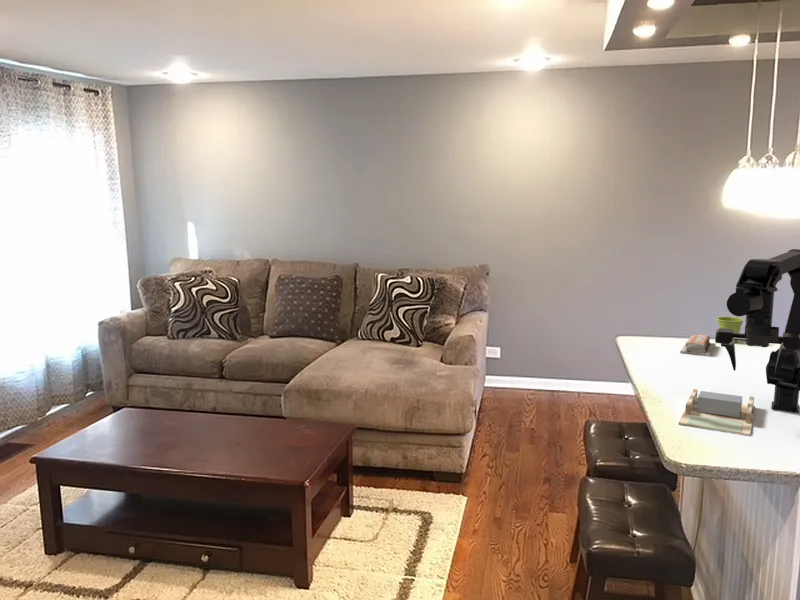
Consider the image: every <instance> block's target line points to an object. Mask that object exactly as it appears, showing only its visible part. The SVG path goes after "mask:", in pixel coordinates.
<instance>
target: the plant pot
mask: <svg viewBox="0 0 800 600" xmlns="http://www.w3.org/2000/svg"><path fill="white" fill-rule="evenodd" d="M716 320H717V323H718V329H719V328H724V329H734V333H740V332H741V326H742V325H743V323H744V322H745V320H744V319H743V318H741V317H740V318H739V317H734V316H720V317H716ZM734 342H735V343H738V342H739V341H736V340H734Z"/></svg>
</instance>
